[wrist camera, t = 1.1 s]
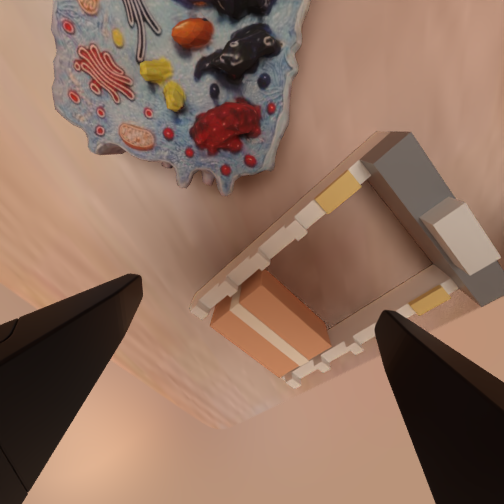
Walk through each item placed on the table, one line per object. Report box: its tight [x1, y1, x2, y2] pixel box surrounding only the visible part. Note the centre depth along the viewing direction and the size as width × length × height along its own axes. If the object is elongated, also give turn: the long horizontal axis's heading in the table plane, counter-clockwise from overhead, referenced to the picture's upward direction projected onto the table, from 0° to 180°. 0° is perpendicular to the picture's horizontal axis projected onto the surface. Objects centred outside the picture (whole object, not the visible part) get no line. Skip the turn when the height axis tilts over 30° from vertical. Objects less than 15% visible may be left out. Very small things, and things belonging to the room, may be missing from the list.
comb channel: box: [189, 131, 504, 389], centre depth 22 cm, size 15×22×6 cm
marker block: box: [210, 269, 332, 378], centre depth 26 cm, size 10×7×4 cm
